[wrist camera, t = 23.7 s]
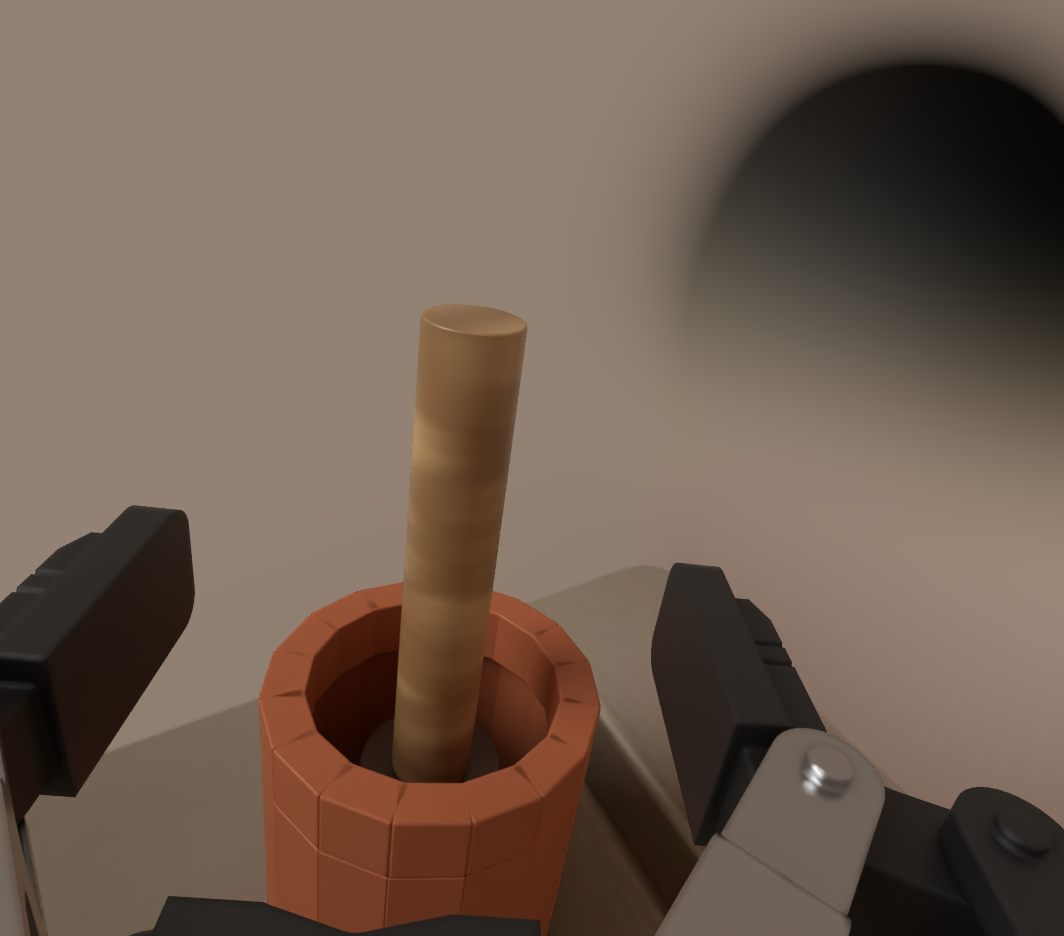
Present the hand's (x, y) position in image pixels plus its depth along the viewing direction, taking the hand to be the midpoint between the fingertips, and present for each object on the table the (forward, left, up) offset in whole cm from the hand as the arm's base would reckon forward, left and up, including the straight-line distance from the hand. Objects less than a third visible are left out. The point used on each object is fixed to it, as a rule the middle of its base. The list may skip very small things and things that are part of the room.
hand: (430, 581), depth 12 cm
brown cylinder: (-4, +5, -17) cm, 18 cm away
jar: (-4, +5, -18) cm, 19 cm away
